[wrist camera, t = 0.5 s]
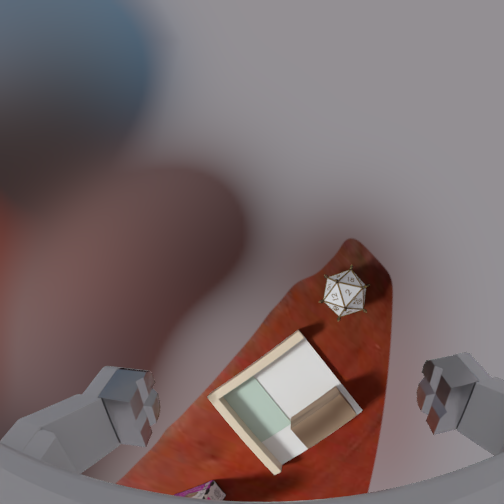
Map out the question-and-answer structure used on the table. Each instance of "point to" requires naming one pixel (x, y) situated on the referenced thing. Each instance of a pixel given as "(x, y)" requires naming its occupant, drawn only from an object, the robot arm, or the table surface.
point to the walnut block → (322, 417)
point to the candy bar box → (204, 492)
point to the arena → (276, 399)
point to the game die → (345, 293)
